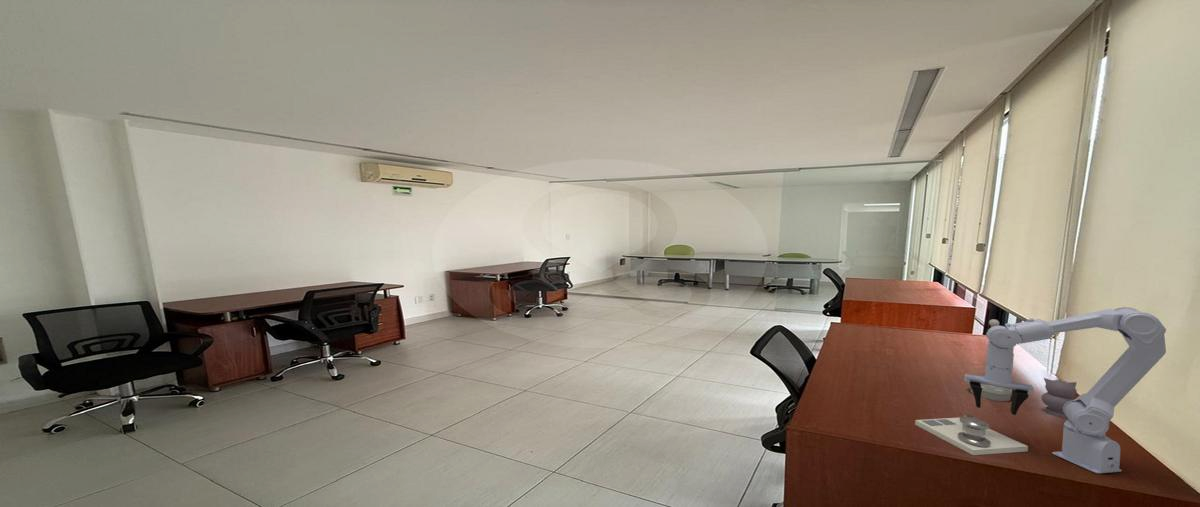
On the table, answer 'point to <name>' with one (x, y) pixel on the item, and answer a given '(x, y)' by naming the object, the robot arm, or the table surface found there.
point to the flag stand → (993, 391)
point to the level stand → (949, 433)
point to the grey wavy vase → (1058, 396)
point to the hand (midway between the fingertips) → (995, 410)
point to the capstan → (974, 431)
